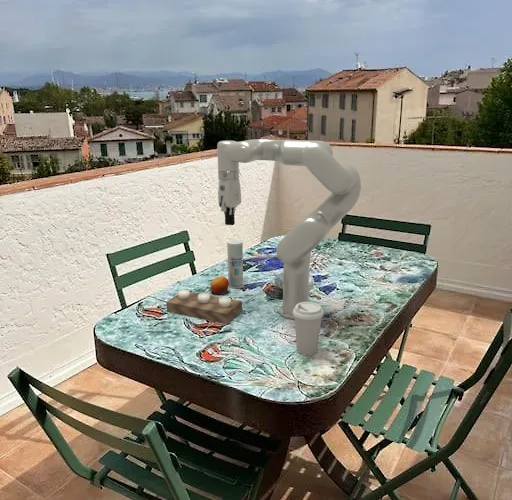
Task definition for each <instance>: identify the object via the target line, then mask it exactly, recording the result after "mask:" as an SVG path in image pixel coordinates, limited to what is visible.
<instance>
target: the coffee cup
mask: <svg viewBox="0 0 512 500" xmlns="http://www.w3.org/2000/svg"><path fill="white" fill-rule="evenodd" d="M293 315H294V319H293V320H294V328H295V330H294V332H295V342H296V343H295V345H296V352H297V351H298V352H299V353H298V352H297V353H298V354H300V353H301V354H300V355H302V354H305V355H304V356H310V355H309V354H313V355H315V354H317V353H318V348H319V342H320V334H321V333H320V332H321V326H322V325H321V323H322V318H323V317H324V310H323V308H322V306H321V304H319V303H316V302H313V301H311V302H301V303H298V304H297V305H296V306H295V308H294V310H293ZM314 353H315V354H314Z"/></svg>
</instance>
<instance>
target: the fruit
mask: <svg viewBox="0 0 512 500" xmlns="http://www.w3.org/2000/svg"><path fill="white" fill-rule="evenodd" d="M209 290H210V291H211V292H212V293H213V294H215V295H222V294H223V295H225V294H226V293H227V292H229V281H228V277H226V276H223V275H220V276H217V277H215V278H213V279H212V280H211V281H210V284H209Z"/></svg>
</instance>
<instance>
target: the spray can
mask: <svg viewBox="0 0 512 500" xmlns="http://www.w3.org/2000/svg"><path fill="white" fill-rule="evenodd" d="M243 242H244V241H242V239H241V240H240V239H230V240H228V241H226V244H227V245H226V248H227V249H226V251H227V276H228V277H227V279H228V281H229V286H228V288H230V289H233V290H234V289H235V290H236V289H237V290H238V289H241V288H242V287H244V269H243V268H244V267H243V266H244V259H243V258H244V257H243V255H244V253H243V245H244V244H243Z"/></svg>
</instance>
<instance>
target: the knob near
mask: <svg viewBox="0 0 512 500" xmlns="http://www.w3.org/2000/svg"><path fill="white" fill-rule="evenodd" d="M219 306H220V307H223V308H226V307H230V306H231V297H229V296H222V297H221V298H219Z"/></svg>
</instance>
